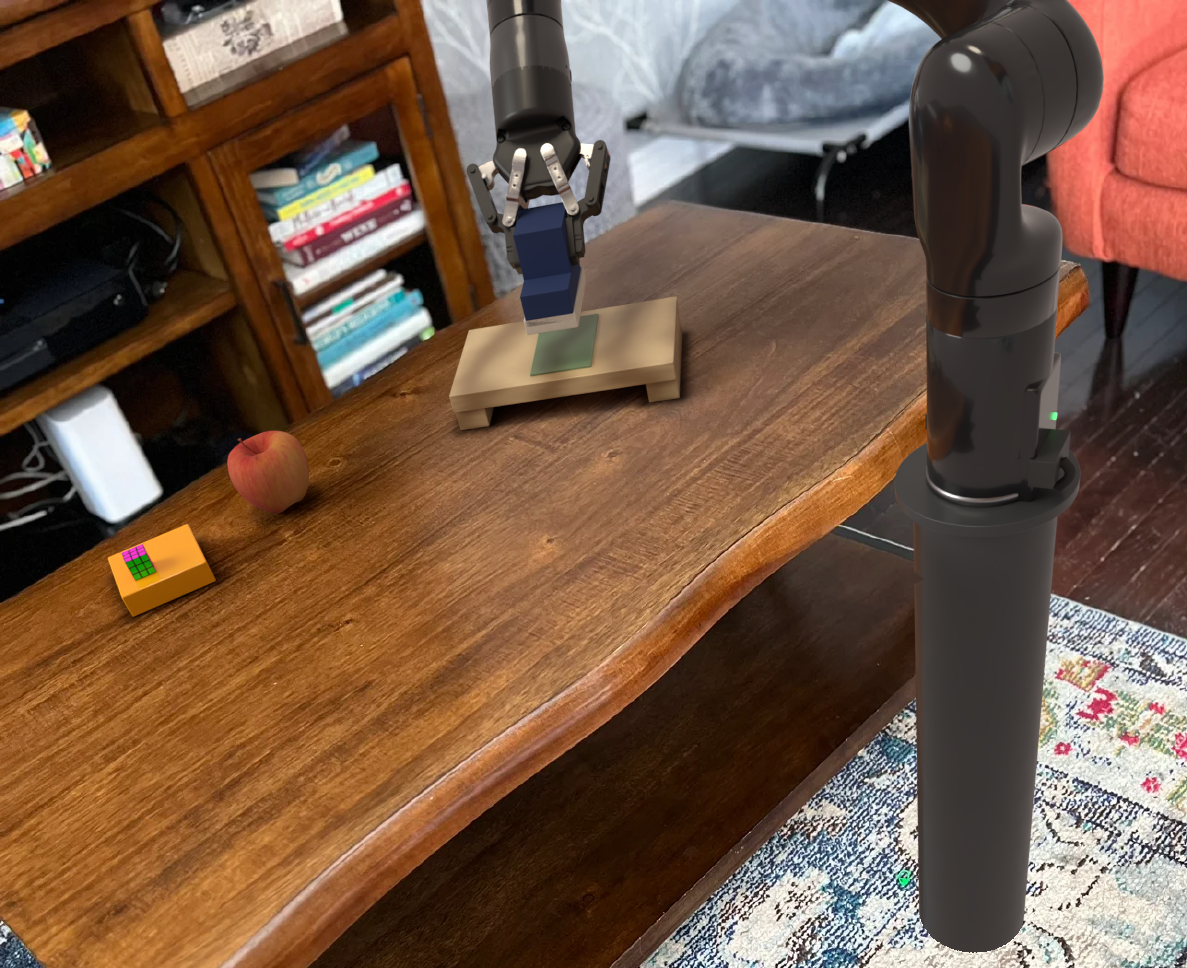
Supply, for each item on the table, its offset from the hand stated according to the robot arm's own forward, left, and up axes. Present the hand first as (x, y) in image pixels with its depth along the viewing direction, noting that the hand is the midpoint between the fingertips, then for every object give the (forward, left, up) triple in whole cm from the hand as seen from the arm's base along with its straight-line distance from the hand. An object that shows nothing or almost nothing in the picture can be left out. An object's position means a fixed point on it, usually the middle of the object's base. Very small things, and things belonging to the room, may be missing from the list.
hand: (547, 265), depth 116 cm
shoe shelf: (0, 0, -12) cm, 12 cm away
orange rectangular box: (+22, +39, -12) cm, 46 cm away
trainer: (0, 0, -4) cm, 4 cm away
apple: (+18, +26, -12) cm, 34 cm away
